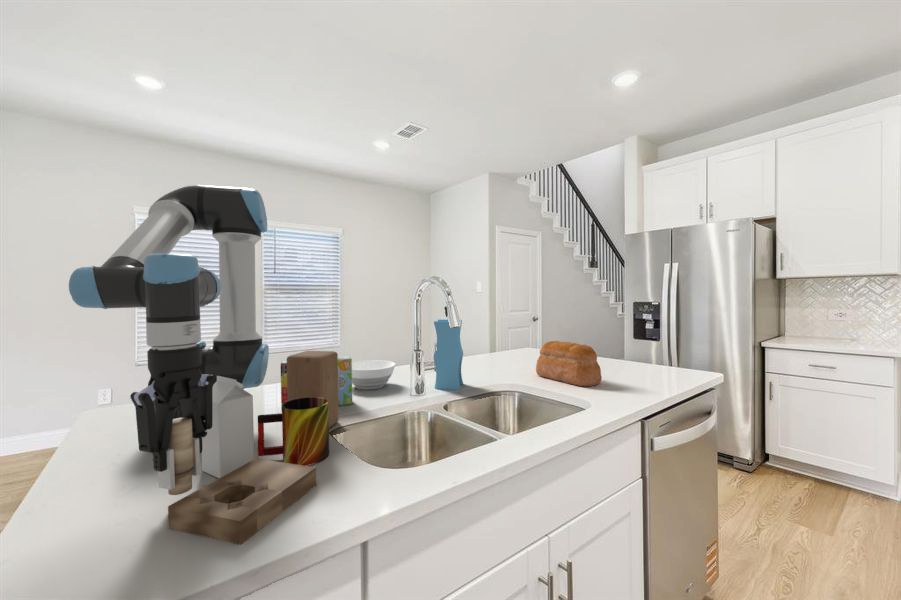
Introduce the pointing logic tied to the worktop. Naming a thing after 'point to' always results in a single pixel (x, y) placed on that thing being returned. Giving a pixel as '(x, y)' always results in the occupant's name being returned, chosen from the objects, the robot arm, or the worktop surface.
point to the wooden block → (314, 378)
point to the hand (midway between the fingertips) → (180, 480)
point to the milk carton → (228, 429)
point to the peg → (182, 454)
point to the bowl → (371, 373)
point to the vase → (448, 356)
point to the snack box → (343, 381)
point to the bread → (569, 363)
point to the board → (242, 500)
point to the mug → (299, 431)
